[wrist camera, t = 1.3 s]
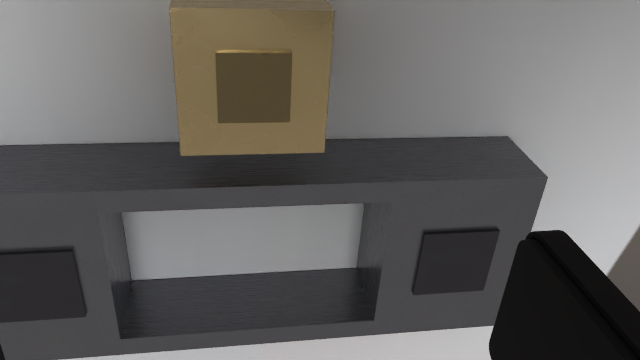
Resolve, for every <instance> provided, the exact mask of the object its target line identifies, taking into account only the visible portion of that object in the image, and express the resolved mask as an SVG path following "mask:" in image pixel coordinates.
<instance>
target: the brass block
mask: <svg viewBox="0 0 640 360" xmlns="http://www.w3.org/2000/svg"><path fill="white" fill-rule="evenodd" d="M169 11H170V24H171V37H172V50H173V63H174V76H175V88H176V101H177V114H178V127H179V140H180V153H181V156H195V155H241V154H286V153H324V150H325V136H326V122H327V109H328V95H329V81H330V67H331V53H332V39H333V25H334V12H335V11H334V10H333V8H332V7H331V5H330V4H329V2H328V1H327V0H171V3H170V7H169Z"/></svg>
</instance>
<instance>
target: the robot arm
mask: <svg viewBox="0 0 640 360" xmlns="http://www.w3.org/2000/svg"><path fill="white" fill-rule="evenodd" d="M489 351H490V356H491V359H492V360H640V312H639V311H638V309H637V308H636V307H635V306H634V305H633V304H632V303H631V302H630V301H629V300H628V299H627V298H626V297H625V296H624V294H623V293H622V292H621V291H620V290H619V289H618V288H617V287H616V286H615V285H614V284H613V283H612V282H611V281H610V280H609V278H608V277H607V276H606V275H605V274H604V273H603V272H602V271H601V270H600V269H599V268H598V267H597V266H596V265H595V263H594V262H593V261H592V260H591V259H590V258H589V257H588V256H587V255H586V254H585V253H584V252H583V251H582V250H581V248H580V247H579V246H578V245H577V244H576V243H575V242H574V241H573V240H572V239H571V238H570V237H569V236H568V235H567V234H566V233H565V232H564V231H561V230H552V231H534V232H530V233H529V234H528V235H527V236H526V238H525V240H521V241H520V242H519V244H518V246H517V249H516V252H515V256H514V259H513V263H512V266H511V269H510V273H509V276H508V280H507V283H506V286H505V290H504V293H503V297H502V300H501V304H500V307H499V310H498V314H497V317H496V321H495V324H494V327H493V331H492V334H491V338H490V342H489ZM0 360H5V357H4V354H3V351H2V348H1V344H0Z"/></svg>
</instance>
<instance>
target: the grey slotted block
mask: <svg viewBox="0 0 640 360" xmlns="http://www.w3.org/2000/svg"><path fill="white" fill-rule="evenodd" d="M547 179H548V177H547V176H546V175H545V174H544V173H543V172H542V171H541V170H540V169H539V168H538V167H537V166H536V165H535V164H534V163H533V162H532V161H531V160H530V159H529V158H528V156H527V155H526V154H525V153H524V152H523V151H522V150H521V149H520V148H519V147H518V146H517V145H516V144H515V143H514V142H513V141H512V140H511V139H510V138H509V137H456V138H400V139H345V140H325V150H324V153H286V154H241V155H195V156H181V153H180V142H178V143H122V144H67V145H11V146H0V344H1V348H2V351H3V354H4V357H5V360H59V359H72V358H84V357H97V356H110V355H123V354H136V353H148V352H161V351H174V350H187V349H199V348H212V347H225V346H238V345H251V344H263V343H276V342H289V341H302V340H315V339H327V338H340V337H353V336H366V335H378V334H391V333H404V332H417V331H430V330H442V329H455V328H468V327H481V326H494V324H495V321H496V317H497V314H498V310H499V307H500V304H501V300H502V297H503V293H504V290H505V286H506V283H507V280H508V276H509V273H510V269H511V266H512V263H513V259H514V256H515V252H516V249H517V246H518V244H519V242H520V241H521V240H525V238H526V236H527V235H528V234H529V233H530V232H531V230H532V226H533V223H534V220H535V217H536V214H537V210H538V207H539V204H540V201H541V198H542V194H543V191H544V188H545V185H546V182H547ZM350 203H365V205H364V213H363V222H362V230H361V238H360V246H359V255H358V263H357V268H350V269H332V270H315V271H297V272H280V273H262V274H245V275H228V276H210V277H193V278H175V279H158V280H141V281H131V274H130V268H129V261H128V254H127V248H126V241H125V234H124V227H123V221H122V214H121V212H137V211H163V210H190V209H217V208H243V207H270V206H296V205H323V204H350Z"/></svg>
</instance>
